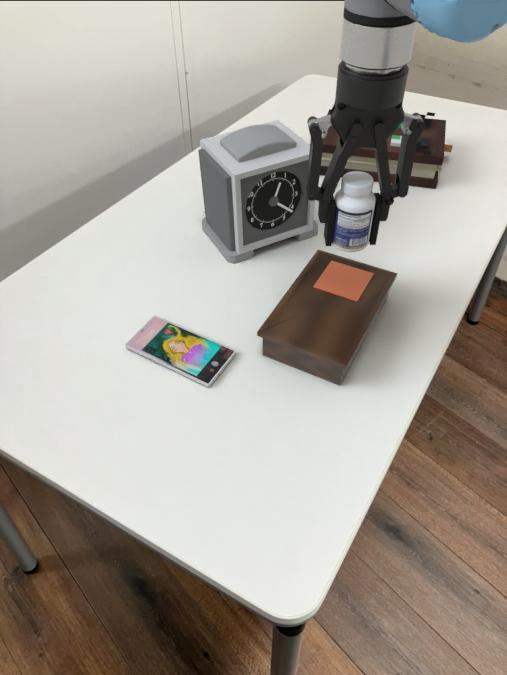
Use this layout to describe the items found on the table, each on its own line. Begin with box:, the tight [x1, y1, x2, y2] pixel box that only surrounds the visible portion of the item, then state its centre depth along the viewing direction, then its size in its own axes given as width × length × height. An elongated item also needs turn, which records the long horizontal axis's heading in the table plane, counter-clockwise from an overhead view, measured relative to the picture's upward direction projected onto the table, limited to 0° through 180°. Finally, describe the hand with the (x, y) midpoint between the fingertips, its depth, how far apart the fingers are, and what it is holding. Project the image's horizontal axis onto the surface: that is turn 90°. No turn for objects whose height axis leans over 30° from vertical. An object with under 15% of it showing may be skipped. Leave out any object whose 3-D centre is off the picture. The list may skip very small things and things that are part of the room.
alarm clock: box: [197, 119, 319, 264], centre depth 88 cm, size 18×13×18 cm
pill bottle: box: [331, 171, 376, 253], centre depth 68 cm, size 5×5×10 cm
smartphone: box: [124, 315, 237, 388], centre depth 74 cm, size 7×1×15 cm
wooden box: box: [256, 249, 398, 386], centre depth 76 cm, size 13×21×5 cm, turn 151°
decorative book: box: [320, 108, 453, 190], centre depth 109 cm, size 19×8×30 cm
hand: (349, 239), depth 72 cm, fingers closed on pill bottle, 5 cm apart
